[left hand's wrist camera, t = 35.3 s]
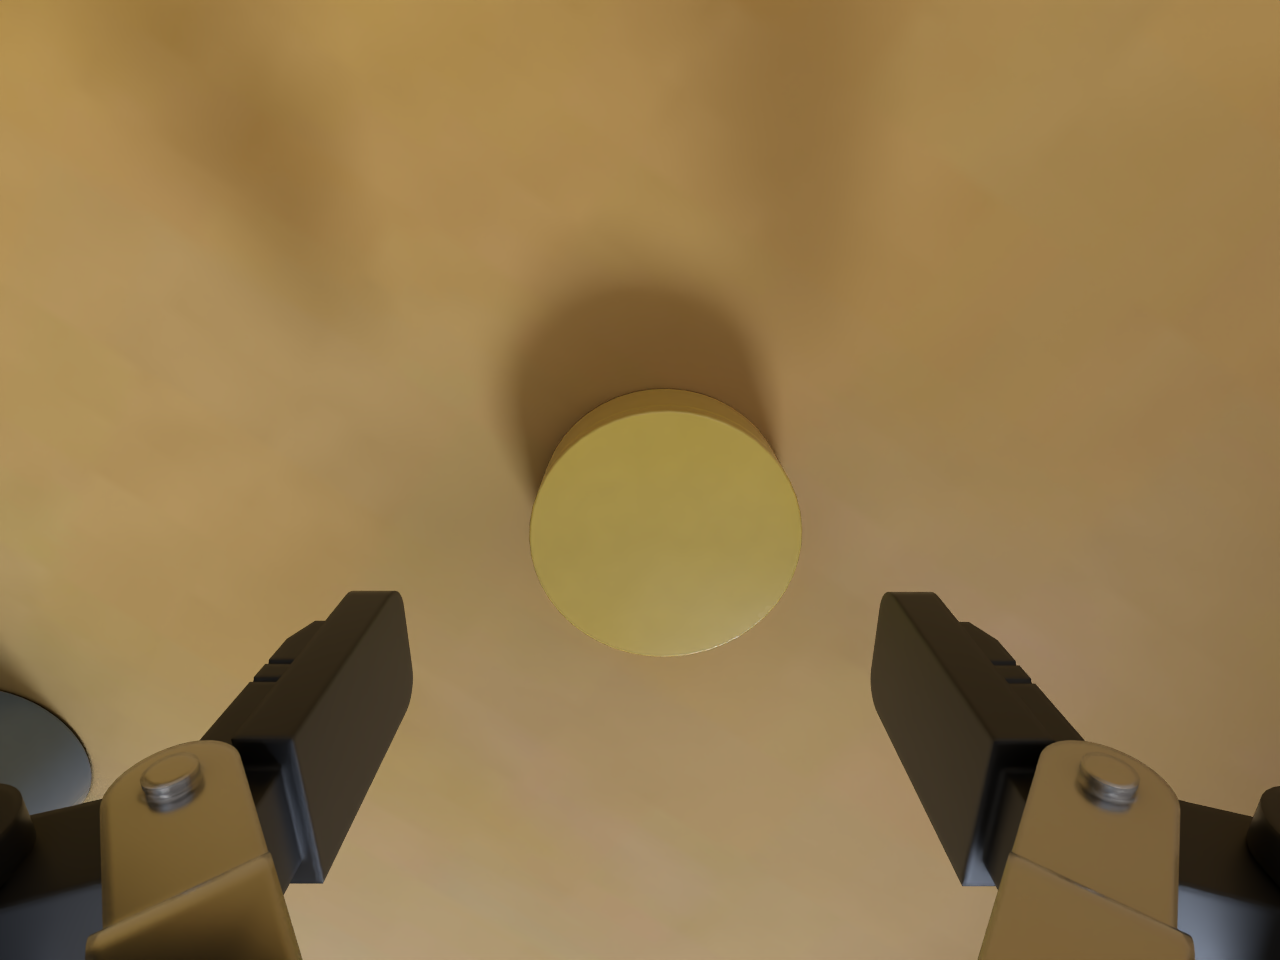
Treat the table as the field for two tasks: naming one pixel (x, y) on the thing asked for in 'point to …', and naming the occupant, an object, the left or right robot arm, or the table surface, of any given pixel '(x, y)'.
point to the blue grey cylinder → (41, 756)
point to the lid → (664, 524)
